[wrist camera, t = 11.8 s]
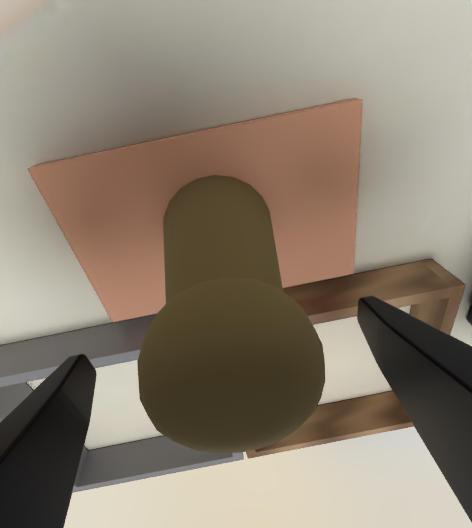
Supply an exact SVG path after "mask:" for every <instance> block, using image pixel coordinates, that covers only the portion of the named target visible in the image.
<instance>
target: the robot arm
mask: <svg viewBox="0 0 472 528" xmlns="http://www.w3.org/2000/svg"><path fill="white" fill-rule="evenodd" d="M357 319H358V323H359V325H360V327H361V329H362V332H363V334H364V336H365V338H366V340H367V343H368V345H369V347H370V349H371V351H372V354H373V356H374V358H375V360H376V362H377V364H378V366H379V368H380V370H381V371H382V373H383V375H384V377H385V378H386V380H387V382H388V383H389V385H390V387H391V388H392V390H393V392H394V393H395V395H396V397H397V398H398V400H399V402H400V403H401V405H402V407H403V408H404V410H405V412H406V413H407V415H408V417H409V418H410V420H411V422H412V423H413V425H414V427H415V428H416V430H417V432H418V433H419V435H420V437H421V438H422V440H423V442H424V443H425V445H426V447H427V448H428V450H429V452H430V453H431V455H432V457H433V458H434V460H435V462H436V463H437V465H438V467H439V468H440V470H441V472H442V474H443V475H444V477H445V479H446V480H447V482H448V483H449V485H450V487H451V489H452V490H453V492H454V494H455V495H456V497H457V498H458V500H459V502H460V504H461V505H462V507H463V509H464V510H465V512H466V513H467V515H468V517H469V519H470V520H471V522H472V346H470V345H468V344H466V343H464V342H462V341H460V340H458V339H456V338H454V337H452V336H450V335H448V334H446V333H445V332H443V331H441V330H439V329H437V328H435V327H433V326H431V325H429V324H427V323H425V322H423V321H421V320H419V319H417V318H416V317H414V316H412V315H410V314H408V313H406V312H404V311H402V310H400V309H398V308H396V307H394V306H392V305H390V304H388V303H387V302H385V301H383V300H381V299H379V298H377V297H375V296H372V295H370V296H365V297H361V298H359V300H358V312H357ZM468 322H469V323H470V324H471V325H472V308H471V311H470V314H469V317H468ZM95 382H96V370H95V368H94V366H93V365H92V364H91V362H90V361H89V359H88V358H87V356H86V355H85V354H82V353H81V354H76V355H72V356H69V357H68V358H67V359H66V360H65V361H64V362H63V363H62V364H61V365H60V366H59V367H58V368H57V369H56V370H54V371H53V372H52V373H51V374H50V375H49V376H48V377H47V378H46V379H45V380H44V381H43V382H42V383H41V384H40V385H39V386H38V387H37V388H36V389H35V390H34V391H32V392H31V393H30V394H29V395H28V396H27V397H26V398H25V399H24V400H23V401H22V402H21V403H20V404H19V405H18V406H17V407H16V408H15V409H14V410H13V411H11V412H10V413H9V414H8V415H7V416H6V417H5V418H4V419H3V420H2V421H1V422H0V528H63V527H64V523H65V519H66V515H67V511H68V507H69V503H70V499H71V495H72V491H73V487H74V483H75V479H76V475H77V471H78V467H79V463H80V459H81V455H82V451H83V447H84V443H85V439H86V435H87V431H88V427H89V422H90V416H91V410H92V403H93V396H94V389H95Z"/></svg>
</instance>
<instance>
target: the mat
mask: <svg viewBox="0 0 472 528" xmlns="http://www.w3.org/2000/svg"><path fill="white" fill-rule="evenodd" d="M361 119H362V99H356V98H354V99H350V100H345V101H340V102H335V103H331V104H326V105H321V106H316V107H311V108H307V109H302V110H297V111H292V112H287V113H283V114H278V115H273V116H268V117H264V118H259V119H254V120H249V121H244V122H240V123H235V124H230V125H225V126H221V127H216V128H211V129H206V130H201V131H197V132H192V133H187V134H182V135H178V136H173V137H168V138H163V139H158V140H154V141H149V142H144V143H139V144H134V145H130V146H125V147H120V148H115V149H111V150H106V151H101V152H96V153H91V154H87V155H82V156H77V157H72V158H68V159H63V160H58V161H53V162H48V163H44V164H39V165H35V166H33V167H31V168H29V169H28V171H29V173H30V175H31V176H32V178H33V180H34V182H35V184H36V185H37V187H38V189H39V191H40V193H41V194H42V196H43V198H44V200H45V202H46V203H47V205H48V207H49V209H50V211H51V212H52V214H53V216H54V218H55V219H56V221H57V223H58V225H59V227H60V228H61V230H62V232H63V234H64V236H65V237H66V239H67V241H68V243H69V245H70V246H71V248H72V250H73V252H74V254H75V255H76V257H77V259H78V261H79V263H80V264H81V266H82V268H83V270H84V272H85V273H86V275H87V277H88V279H89V281H90V282H91V284H92V286H93V288H94V290H95V291H96V293H97V295H98V297H99V299H100V300H101V302H102V304H103V306H104V308H105V309H106V311H107V313H108V315H109V317H110V318H111V320H112V322H117V321H122V320H127V319H132V318H137V317H142V316H147V315H152V314H157V313H158V312H159V311H160V310H161V309H162V308H163V307H164V306H165V305H166V295H165V266H164V236H163V217H164V214H165V212H166V209H167V206H168V203H169V201H170V200H171V199H172V198H173V196H174V195H175V194H176V193H177V192H178V191H179V189H180V188H182V187H183V186H185V185H187V184H188V183H190V182H192V181H193V180H195V179H198V178H202V177H207V176H212V175H221V176H230V177H235V178H237V179H239V180H241V181H243V182H246V183H248V184H250V185H251V186H252V187H253V188H254V189H255V190H256V191H257V192H258V193H259V194H260V195H261V196H262V197H263V199H264V201H265V203H266V205H267V207H268V209H269V211H270V217H271V222H272V228H273V234H274V240H275V246H276V252H277V258H278V263H279V269H280V275H281V281H282V287H283V288H286V287H291V286H296V285H301V284H306V283H310V282H315V281H320V280H325V279H330V278H335V277H340V276H345V275H350V274H354V258H355V238H356V218H357V198H358V178H359V158H360V139H361Z"/></svg>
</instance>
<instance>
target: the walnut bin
mask: <svg viewBox="0 0 472 528" xmlns="http://www.w3.org/2000/svg"><path fill="white" fill-rule="evenodd" d="M465 285H466V284H464V283H463V282H462V281H461V280H459V279H458V278H457V277H455V276H454V275H453V274H451V273H450V272H449V271H447V270H446V269H445V268H444V267H442V266H441V265H440V264H438V263H437V262H436V261H434V260H433V259H428V260H423V261H418V262H413V263H408V264H403V265H398V266H393V267H388V268H384V269H379V270H374V271H369V272H364V273H359V274H354V275H349V276H344V277H339V278H334V279H329V280H324V281H319V282H314V283H309V284H304V285H299V286H294V287H289V288H284V289H283V292H285V293H286V294H287V295H288V296H290V297H291V298H292V299H294V300H295V301H296V302H297V303H298V304H299V305H300V307H301V308H302V309H303V310H304V311H305V312H306V314H307V316H308V318H309V319H310V321H311V323H312V325H314V324H319V323H324V322H329V321H334V320H339V319H344V318H349V317H354V316H357V312H358V300H359V298H361V297H365V296H370V295H372V296H375V297H377V298H379V299H381V300H383V301H385V302H387V303H388V304H390V305H392V306H394V307H396V308H399V307H404V306H409V305H412V307H411V312H410V315H412V316H414V317H416V318H417V319H419V320H421V321H423V322H425V323H427V324H429V325H431V326H433V327H435V328H437V329H439V330H441V331H443V332H445V333H446V334H448V335H450V333H451V330H452V327H453V324H454V320H455V317H456V314H457V311H458V308H459V304H460V301H461V298H462V295H463V292H464V288H465ZM413 426H414V425H413V423H412V422H411V420H410V418H409V417H408V415H407V413H406V412H405V410H404V408H403V407H402V405H401V403H400V402H399V400H398V398H397V397H396V395H395V393H394V392H393V391H390V392H385V393H380V394H375V395H370V396H365V397H360V398H355V399H350V400H344V401H339V402H334V403H329V404H324V405H319V406H317V407H316V409H315V412H314V413H313V414H312V415H311V416H310V417H309V418H308V420H307V421H306V422H305V423H304V424H303V425H302V426H301V427H300V428H298V429H297V430H296V431H294V432H293V433H291V434H290V435H288V436H286V437H285V438H283V439H281V440H280V441H278V442H276V443H273V444H270V445H268V446H265V447H262V448H260V449H255V450H250V451H246V454H247V457H248V458H253V457H258V456H263V455H268V454H274V453H278V452H284V451H289V450H294V449H300V448H305V447H309V446H315V445H320V444H325V443H330V442H336V441H341V440H345V439H351V438H356V437H361V436H366V435H371V434H376V433H382V432H387V431H392V430H397V429H402V428H408V427H413Z"/></svg>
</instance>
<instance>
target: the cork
mask: <svg viewBox="0 0 472 528" xmlns="http://www.w3.org/2000/svg"><path fill="white" fill-rule="evenodd" d="M163 236H164V266H165V295H166V305H165V306H164V307H163V308H162V309H161V310H160V311H159V312H158V313H157V315H156V316H155V318H154V320H153V321H152V323H151V324H150V327H149V329H148V331H147V334H146V336H145V338H144V341H143V343H142V346H141V350H140V354H139V358H138V361H137V362H138V378H139V393H140V400H141V402H142V404H143V406H144V409H145V411H146V413H147V415H148V416H149V418H150V420H151V421H152V423H153V424H154V426H155V428H156V429H157V430H158V431H159V432H160V433H162V434H163V435H165V436H166V437H167V438H169V439H170V440H172V441H173V442H176V443H178V444H180V445H183V446H186V447H189V448H191V449H194V450H197V451H203V452H210V453H217V454H219V453H240V452H245V451H250V450H255V449H260V448H262V447H265V446H268V445H270V444H273V443H276V442H278V441H280V440H281V439H283V438H285V437H286V436H288V435H290V434H291V433H293V432H294V431H296V430H297V429H298V428H300V427H301V426H302V425H303V424H304V423H305V422H306V421H307V420H308V418H309V417H310V416H311V415H312V414H313V413H314V412H315V409H316V407H317V405H318V403H319V401H320V398H321V395H322V391H323V387H324V383H325V362H324V354H323V347H322V343H321V341H320V339H319V337H318V335H317V333H316V331H315V329H314V327H313V325H312V323H311V321H310V319H309V318H308V316H307V314H306V312H305V311H304V310H303V309H302V308H301V307H300V305H299V304H298V303H297V302H296V301H295V300H294V299H292V298H291V297H290V296H288V295H287V294H286V293H285V292H283V287H282V281H281V275H280V269H279V263H278V258H277V252H276V246H275V240H274V234H273V228H272V222H271V217H270V211H269V209H268V207H267V205H266V203H265V201H264V199H263V197H262V196H261V195H260V194H259V193H258V192H257V191H256V190H255V189H254V188H253V187H252V186H251V185H250V184H248V183H246V182H243V181H241V180H239V179H237V178H235V177H230V176H221V175H212V176H207V177H202V178H198V179H195V180H193V181H192V182H190V183H188V184H187V185H185V186H183V187H182V188H180V189H179V191H178V192H177V193H176V194H175V195H174V196H173V198H172V199H171V200H170V201H169V203H168V206H167V209H166V212H165V214H164V217H163Z"/></svg>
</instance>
